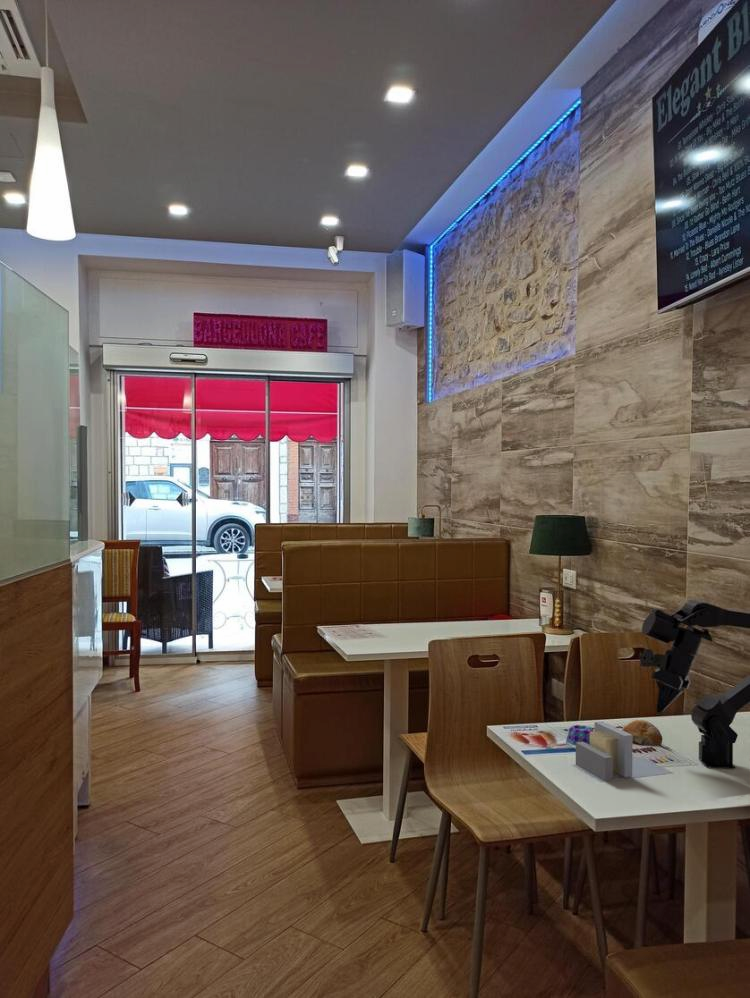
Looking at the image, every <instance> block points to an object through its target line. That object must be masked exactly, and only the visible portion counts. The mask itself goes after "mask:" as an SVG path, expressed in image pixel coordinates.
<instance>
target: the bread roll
mask: <svg viewBox="0 0 750 998" xmlns="http://www.w3.org/2000/svg"><path fill="white" fill-rule="evenodd" d="M621 730H622V731H625V732H627V733H629V734H631V735H633V744H640V745H649V746H656V747H659V748H662V743H663V736H662V733H661V731H660V730H659V729H658V727H656V726H655V725H654V724H653V723H651V722H649V721H647V720H643V719H635V720H632V721H631V722H629V723H627V725H624V726H623V728H622V729H621Z"/></svg>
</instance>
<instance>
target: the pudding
mask: <svg viewBox="0 0 750 998" xmlns="http://www.w3.org/2000/svg"><path fill="white" fill-rule="evenodd" d="M593 731H594V728H592V727H591V726H588V725H580V724H576V725H571V726H570V727H569V729H568V733H567V737H566V738H564V739H560V740H558V741H557V742H556V744H557V745H559V744H561V745H562V744H570V745H573V746H576V742H585V743H587V744H589V745H590V732H593Z"/></svg>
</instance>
